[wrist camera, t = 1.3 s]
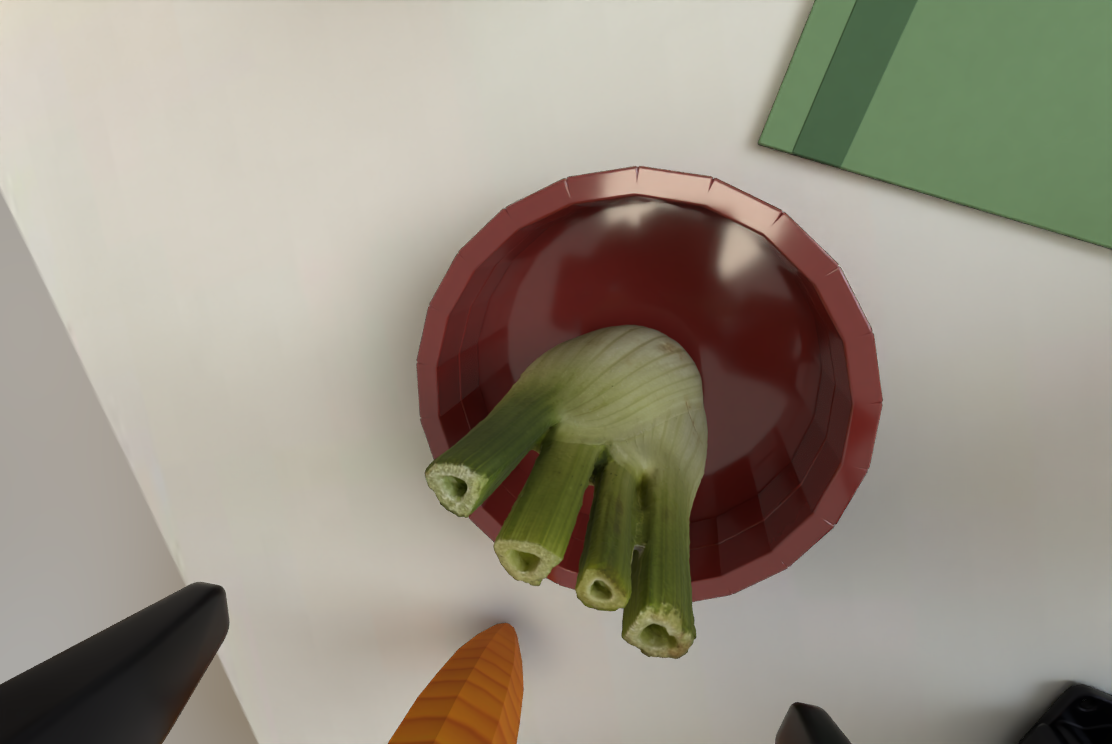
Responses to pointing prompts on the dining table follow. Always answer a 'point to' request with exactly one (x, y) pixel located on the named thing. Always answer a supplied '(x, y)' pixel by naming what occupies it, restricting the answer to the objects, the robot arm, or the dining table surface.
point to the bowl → (697, 325)
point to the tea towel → (961, 104)
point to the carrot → (471, 695)
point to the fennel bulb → (597, 475)
